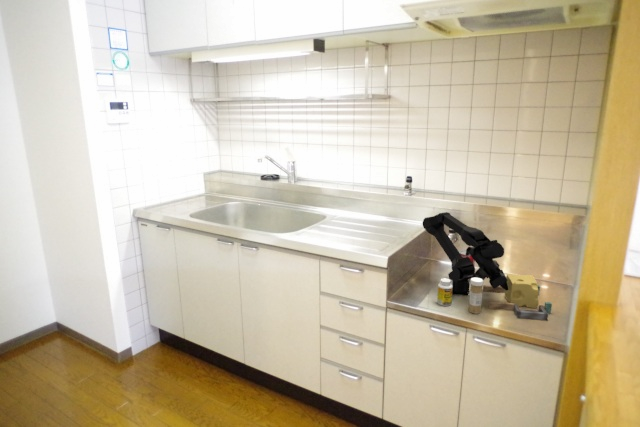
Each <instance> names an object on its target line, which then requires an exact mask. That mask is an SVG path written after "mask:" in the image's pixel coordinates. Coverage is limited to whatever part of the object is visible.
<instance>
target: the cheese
mask: <svg viewBox="0 0 640 427" xmlns="http://www.w3.org/2000/svg"><path fill="white" fill-rule="evenodd" d="M505 276H506V278H507V279H508V280H507V285H508V290H507V291H506V290H505V289H504V292H505V293H504V296H505V298H506V300H507V303H516V304H517V305H518V307H519V308H522V307H524V306H525V307H527V308H532V309H537V308H539V299H538V298H539V296H540V291H539V290H538V286H537V285H538V282H537V280H536V279H535V277H534V275H531V274H524V275H522V274H521V275H519V274H506V275H505Z"/></svg>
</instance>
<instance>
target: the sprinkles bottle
mask: <svg viewBox="0 0 640 427" xmlns="http://www.w3.org/2000/svg"><path fill="white" fill-rule="evenodd" d="M469 283H470V287H469V306H468V311H469V313H471V314H476V315H477V314H481V312H482V310H481V309H482V308H481V307H482V302H483V300H482V297H483V285H484V281H483V279H481V278H477V277H474V278H471V281H470V282H469Z"/></svg>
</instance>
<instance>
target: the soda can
mask: <svg viewBox="0 0 640 427" xmlns="http://www.w3.org/2000/svg"><path fill="white" fill-rule="evenodd" d="M459 253H460V254H461V256H462V257H469V258H470V260H471V262H472V263H473V264H474V267H475V265H476V261H475V260H474V259H473V258H472V256H471V255H466V250H465V249H464V250H460V251H459ZM475 268H476V267H475ZM468 281H469V283H470V281H471V279H468Z"/></svg>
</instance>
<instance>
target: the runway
mask: <svg viewBox="0 0 640 427" xmlns="http://www.w3.org/2000/svg"><path fill="white" fill-rule="evenodd" d="M537 286H538V290H539V292H540V290H541V286H540V285H539V284H537ZM483 292H485V293H499V294H500V293H501V294H505V292H504V289H503V288H502V287H501V286H498V287H497V288H495V289H493V287H492V286H491V285H485V284H483V286H482V293H483ZM552 307H553V303H552V302H551V301H549V302H548V301H544V305H540V304H538V310H537V309H536V310H533V309H522V308H520V307H518V305H517V304H516V303H509V302H501V301H498V302H497V301H489V304H488V308H489V310H500V311H501V310H502V311H513V312H514V315H515V316H516V319H527V320H537V321H539V320H540V321H548V318H549V314H550V315H551V314H552Z"/></svg>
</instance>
